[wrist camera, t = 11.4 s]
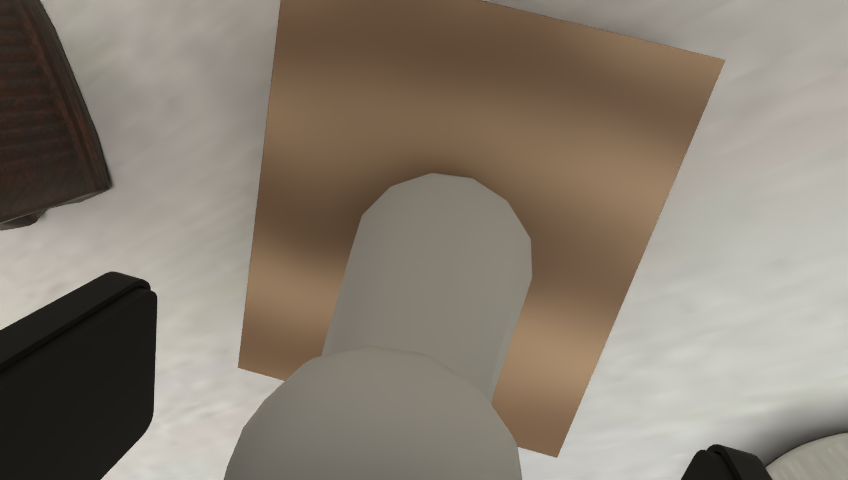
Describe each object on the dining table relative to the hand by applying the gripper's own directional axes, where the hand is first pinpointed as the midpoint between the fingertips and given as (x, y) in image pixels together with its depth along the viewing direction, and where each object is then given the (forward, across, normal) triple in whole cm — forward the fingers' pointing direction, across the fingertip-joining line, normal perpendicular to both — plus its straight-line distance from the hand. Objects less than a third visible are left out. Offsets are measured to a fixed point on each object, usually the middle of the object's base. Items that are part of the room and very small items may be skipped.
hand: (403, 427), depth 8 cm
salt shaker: (+10, 0, 0) cm, 11 cm away
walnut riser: (+14, 0, 0) cm, 14 cm away
